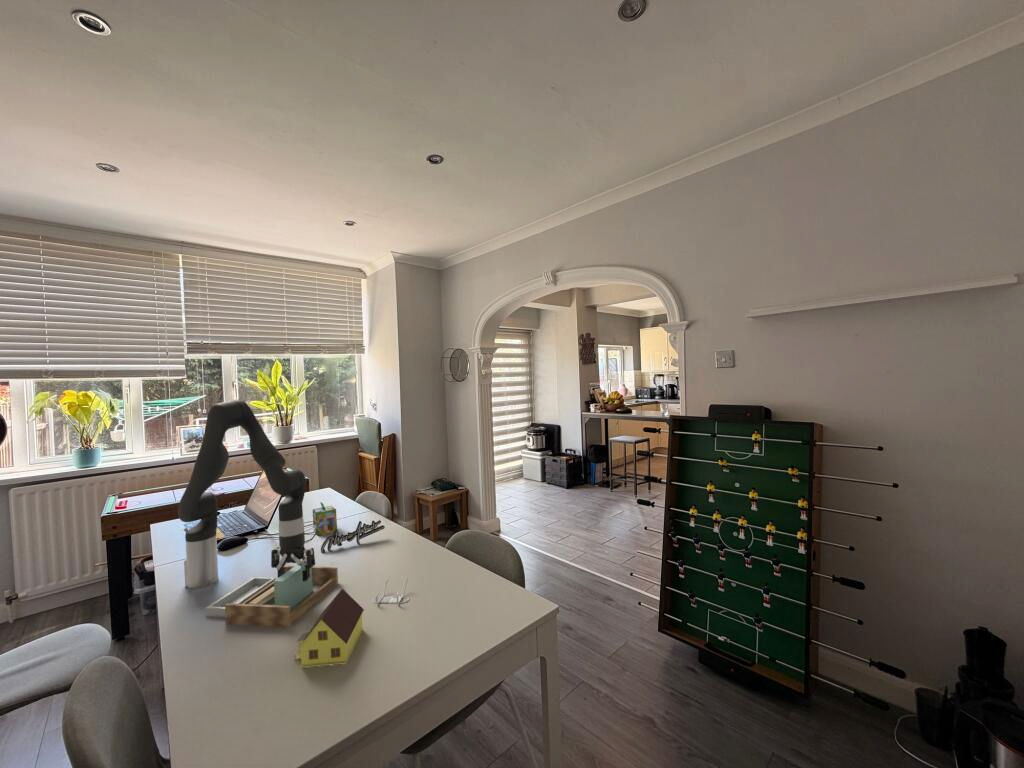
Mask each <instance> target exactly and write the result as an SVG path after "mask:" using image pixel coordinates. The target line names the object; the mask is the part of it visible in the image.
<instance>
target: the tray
mask: <svg viewBox="0 0 1024 768" xmlns="http://www.w3.org/2000/svg"><path fill="white" fill-rule="evenodd" d="M276 579H277V578H276V577H263V576H262V577H259V576H258V577H257V576H254V577H252V578H251V579H249V580H247V581H246V582H244V583H243V584H241V585H240V586H238V587H236V588H235V589H233V590H232V591H230V592H229V593H227V594H225V595H224V596H222V597H221V598H219V599H218V600H216V601H214V602H212V603H211V604H210V605H208V606H207V607H205V615H206V617H213V618H226V616H225V605H226V604H227V603H232V604H242V603H243V602H245V601H246V600H248V599H249V598H250V597H252V596H253V595H255V594H256V593H258V592H259V591H261V590H262V589H263V588H265V587H266V586H268V585H269V584H271V583H272V582H273V581H274V580H276Z"/></svg>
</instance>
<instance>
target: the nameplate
mask: <svg viewBox="0 0 1024 768" xmlns="http://www.w3.org/2000/svg"><path fill="white" fill-rule="evenodd" d="M381 522H382V521H381V519H379V520H378V521H375V520H372V521H371V524H366V523H365V522H364V523H363V525H362V521H361V520H359V522H358V523H357V526H356V528H355V530H354V531H351V532H350V531H349V532H347V533H346V534H343V533H342V534H341V535H339V531H338V529H337V530H336V531H335V532H334V533H332V535H328V536H327V537H326V539H325V540H324V541H323V542H322V545H321V547H320V552H321V553H325V552H326V549H327V551H329V552H330V551H331V548H332V547H333V546H337V547H342V545H343V543H342V542H345V541H346V542H349V543H350V542H352V541H354V539H356V540H355V541H356V544H357V545H358V546H359V545H360V544H361V543H360V540H361V539H364V538H366V537H368V536H371V535H373V534H375V533H377V532H380V531H382V530H384V529H385V525H384V524H383V525H382V524H381ZM380 524H381V525H380ZM379 525H380V526H379ZM326 546H327V548H326Z"/></svg>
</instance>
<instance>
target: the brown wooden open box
mask: <svg viewBox="0 0 1024 768" xmlns="http://www.w3.org/2000/svg"><path fill="white" fill-rule="evenodd" d="M295 566H296V565H285V566H284V567H285V573H286V572H287V571H289V570H290V569H292V568H293V567H295ZM338 570H339V569H338V567H337V566H313V567H312V585H313V584H316V585H318V584H319V585H322V586H321V587H319V588H318V589H317V590H316V591H314V593H313V594H311V595H310V596H309V597H308V598H306V599H305V600H304V601H303V602H302V603H301V604H300V605H298V606H297V607H296V608H295V609H294V610H292V611H291V609H290V606H281V605H275V604H269V605H256V604H249V603H250V602H251V601H253V600H254V599H256V598H257V597H259V596H260V595H262V594H263V593H265V592H266V591H268V590H269V589H271V588H272V587H274V581H273V582H272V583H271V584H269V585H268V586H266V587H265V588H263V589H262V590H261V591H259V592H258V593H256V594H255V595H253V596H252V597H250V598H249V599H248V600H246V601H245V602H243V603H242V604H232V603H227V604H226V605H225V616H226V617H225V625H240V626H241V625H242V626H243V625H244V626H260V627H262V626H263V627H280V628H290V627H291V625H293V624H294V623H295V622H296V621H297V620H299V618H301V617H302V616H303V615H304V614H305V613H306V612H308V611H309V610H310V609H311V608H312V607H313V606H314V605H315V604H316V603H318V602H319V601H320V600H321V599H322V598H323V597H324V596H326V594H328V593H329V592H330V591H332V589H333V588H335V586H337V584H338V583H339V575H338V574H339V573H338ZM318 600H319V601H318ZM311 606H312V607H311ZM310 607H311V608H310ZM309 608H310V609H309ZM308 609H309V610H308ZM303 613H304V614H303ZM289 626H290V627H289Z"/></svg>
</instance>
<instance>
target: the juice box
mask: <svg viewBox="0 0 1024 768" xmlns="http://www.w3.org/2000/svg"><path fill="white" fill-rule="evenodd" d="M320 505H321V507H317V508H314V509H313V508H312V522H313V523H312V525H313V533H314V532H315V533H316V534H315V533H314V534H315V535H316V536H317V537H320V536H325V535H329V534H333V533H334V532H335V531H336V530H337V531H338V521H337V520H338V519H337V518H338V517H337V508H335V507H334V506H332V505H327V506H325V505H324V503H323V502H320Z"/></svg>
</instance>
